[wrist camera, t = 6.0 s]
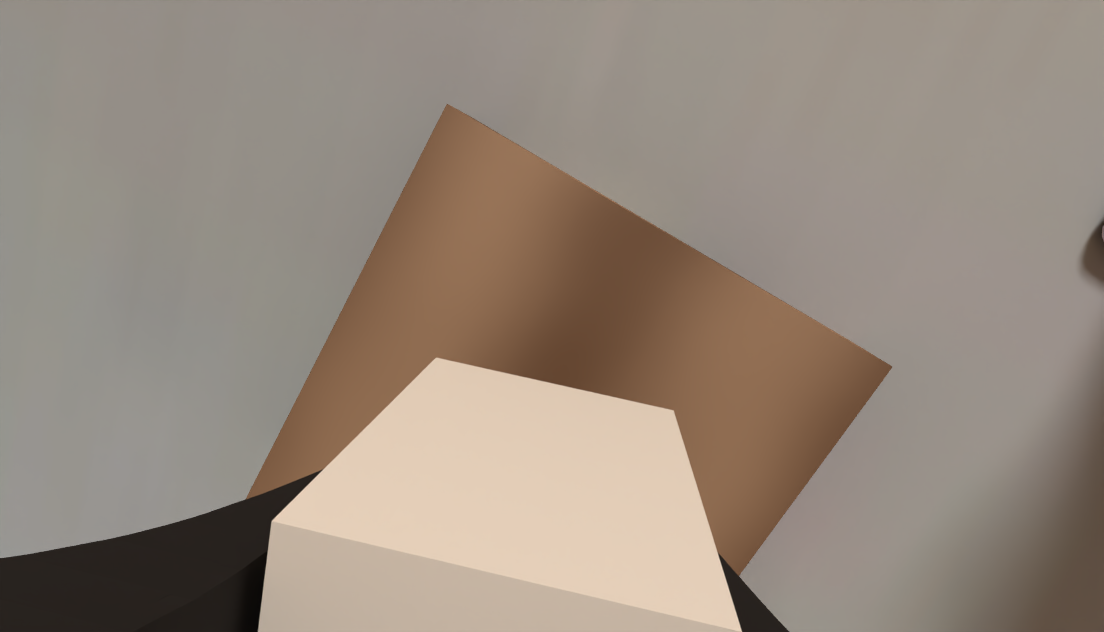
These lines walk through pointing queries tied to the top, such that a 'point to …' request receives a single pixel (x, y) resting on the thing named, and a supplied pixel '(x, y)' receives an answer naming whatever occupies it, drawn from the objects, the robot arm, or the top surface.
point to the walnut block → (580, 329)
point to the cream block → (500, 519)
